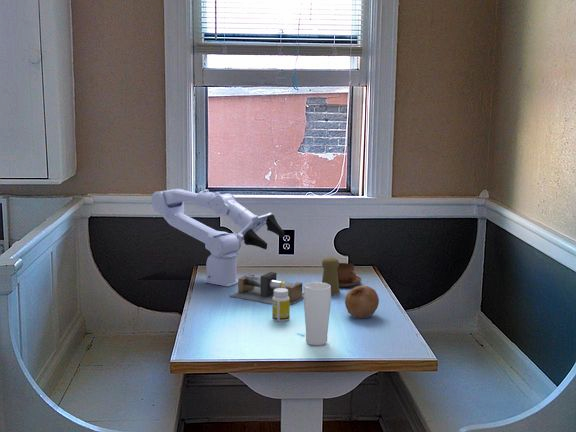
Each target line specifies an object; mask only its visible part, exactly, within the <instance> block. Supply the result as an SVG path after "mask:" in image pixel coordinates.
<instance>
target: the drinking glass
mask: <svg viewBox="0 0 576 432" xmlns="http://www.w3.org/2000/svg"><path fill="white" fill-rule="evenodd" d="M303 293H304V298H303V308H304V310H303V311H304V321H305V322H304V323H305V341H306V343H307V344H308V345H310V346H314V347H321V346H324V345H327V343H328V334H329V333H328V332H329V325H330V324H329V323H330V313H331V306H332V305H331V303H332V295H331V286H330V285H329V284H327V283H323V282H322V281H313V282H312V281H311V282H307V283H305V284H304V286H303Z"/></svg>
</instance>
